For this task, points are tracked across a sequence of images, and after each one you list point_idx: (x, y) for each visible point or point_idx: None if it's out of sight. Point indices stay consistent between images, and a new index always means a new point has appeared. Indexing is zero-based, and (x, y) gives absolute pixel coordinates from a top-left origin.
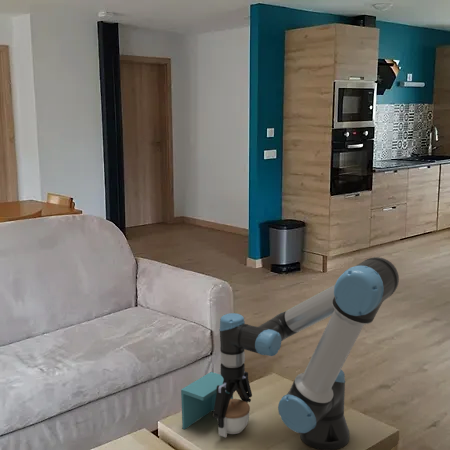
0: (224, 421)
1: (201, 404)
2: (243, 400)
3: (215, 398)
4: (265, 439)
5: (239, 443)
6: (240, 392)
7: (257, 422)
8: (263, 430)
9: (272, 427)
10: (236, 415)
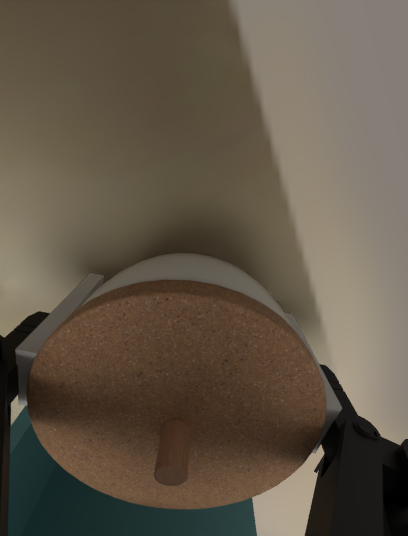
0: (326, 389)
1: (129, 504)
2: (13, 387)
3: (42, 481)
4: (190, 109)
5: (278, 238)
6: (2, 529)
7: (46, 224)
8: (103, 160)
9: (42, 116)
10: (308, 356)
